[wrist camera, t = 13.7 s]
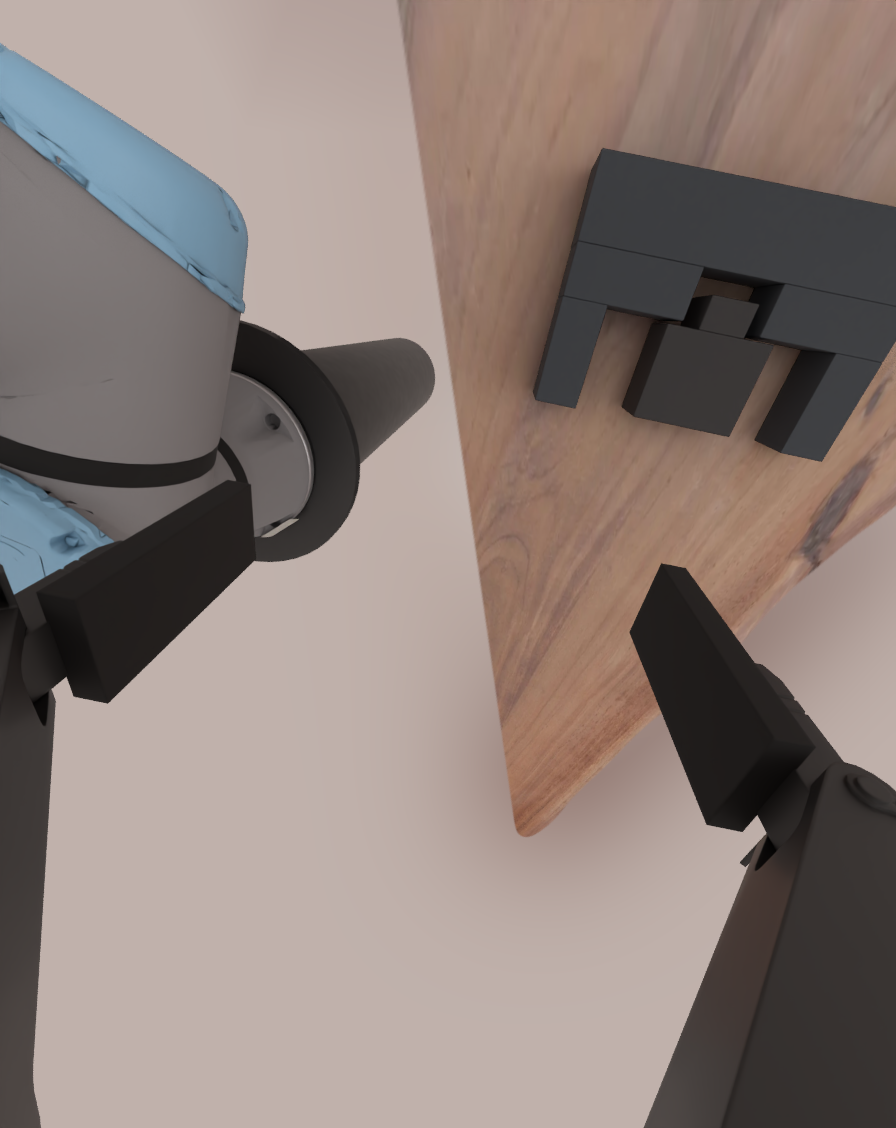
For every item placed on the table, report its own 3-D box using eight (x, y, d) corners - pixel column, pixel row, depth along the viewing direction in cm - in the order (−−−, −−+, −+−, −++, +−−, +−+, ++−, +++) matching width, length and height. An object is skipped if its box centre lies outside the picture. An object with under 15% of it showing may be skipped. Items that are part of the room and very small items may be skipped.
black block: (621, 407, 36) (633, 416, 32) (663, 291, 32) (681, 288, 28) (708, 425, 35) (729, 437, 32) (760, 312, 31) (791, 310, 28)
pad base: (532, 392, 36) (535, 399, 32) (591, 168, 29) (602, 147, 25) (791, 448, 35) (822, 461, 32) (913, 234, 28) (969, 221, 25)
